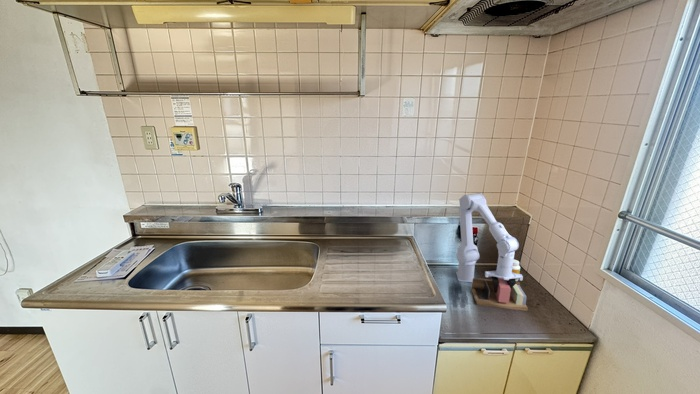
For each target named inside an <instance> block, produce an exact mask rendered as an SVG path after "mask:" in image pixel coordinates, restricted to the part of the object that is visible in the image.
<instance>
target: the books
mask: <svg viewBox="0 0 700 394" xmlns="http://www.w3.org/2000/svg"><path fill="white" fill-rule="evenodd" d="M510 294H511V296H512V298H513V300H514V302H515V303H516V304H517V305H525V304H526V305H527V295H526V293H525V292H524V290H523V289H522V287H521V284H520V285H517V284H515V285H514V286H513V287H512V288H511V291H510Z"/></svg>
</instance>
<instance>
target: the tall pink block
mask: <svg viewBox="0 0 700 394" xmlns="http://www.w3.org/2000/svg"><path fill="white" fill-rule="evenodd" d="M498 280H499V284H498V290H497V293H495V292H494V293H495V295H496V298H497V300H498V302H504V303H509V298H510V291H511V288H510V286H509V284H508V283H507V281H506V280H504V279H502V278H498ZM493 291H494V286H493Z"/></svg>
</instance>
